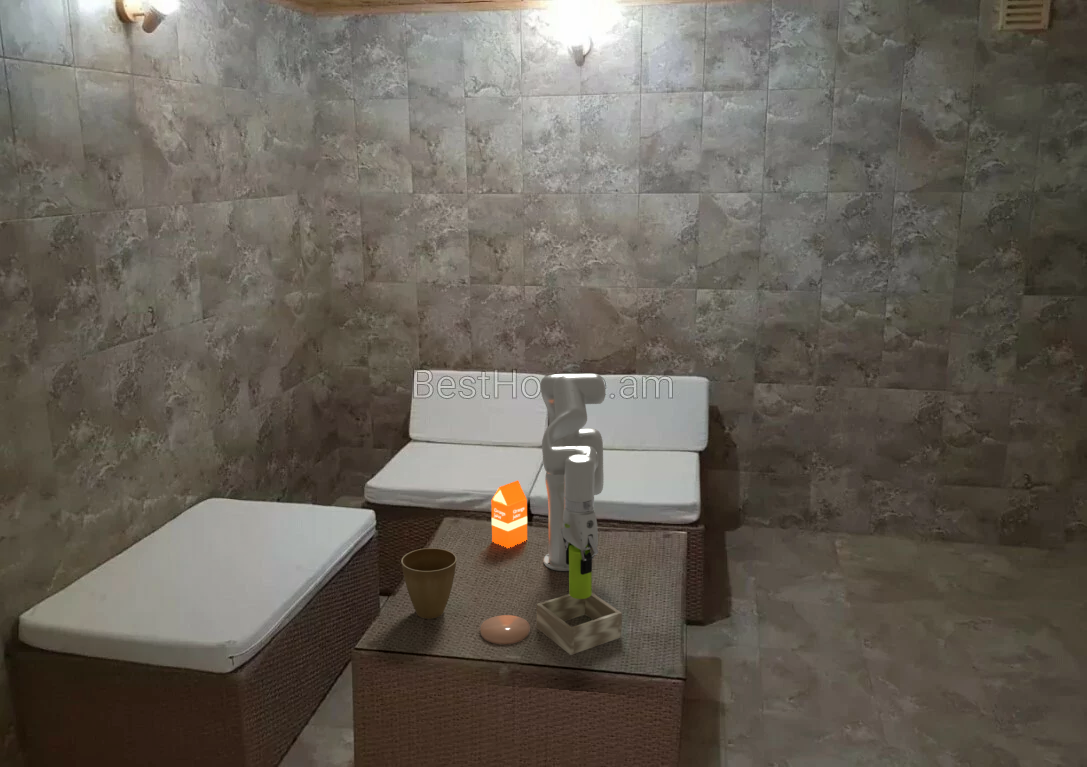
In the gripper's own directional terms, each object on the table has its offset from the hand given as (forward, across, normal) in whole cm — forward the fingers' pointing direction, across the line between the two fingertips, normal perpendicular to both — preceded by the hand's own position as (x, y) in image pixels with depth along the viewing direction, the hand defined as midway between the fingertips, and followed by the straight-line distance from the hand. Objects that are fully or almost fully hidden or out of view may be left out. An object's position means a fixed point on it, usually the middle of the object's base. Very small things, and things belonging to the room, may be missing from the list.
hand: (578, 567), depth 234 cm
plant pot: (+19, +30, +28) cm, 46 cm away
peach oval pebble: (+18, +10, +16) cm, 27 cm away
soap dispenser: (+8, 0, 0) cm, 8 cm away
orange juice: (+20, +59, -14) cm, 64 cm away
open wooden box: (+18, -1, 0) cm, 18 cm away
